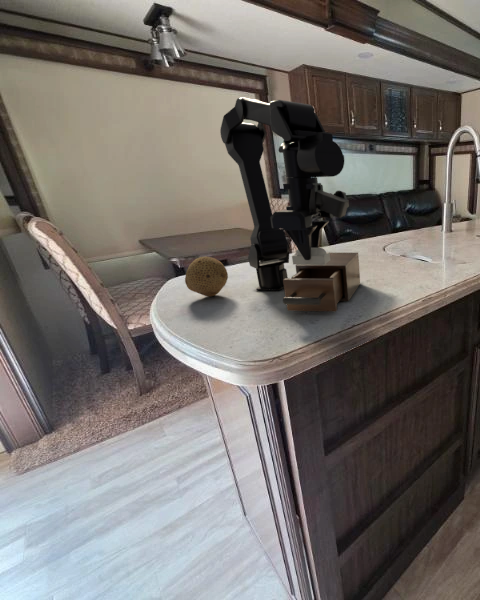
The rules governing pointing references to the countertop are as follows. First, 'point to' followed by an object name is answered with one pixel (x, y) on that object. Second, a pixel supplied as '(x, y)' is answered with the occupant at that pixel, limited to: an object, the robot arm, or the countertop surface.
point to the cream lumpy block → (312, 257)
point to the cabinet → (350, 271)
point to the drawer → (314, 290)
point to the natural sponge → (206, 276)
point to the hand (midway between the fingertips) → (311, 257)
